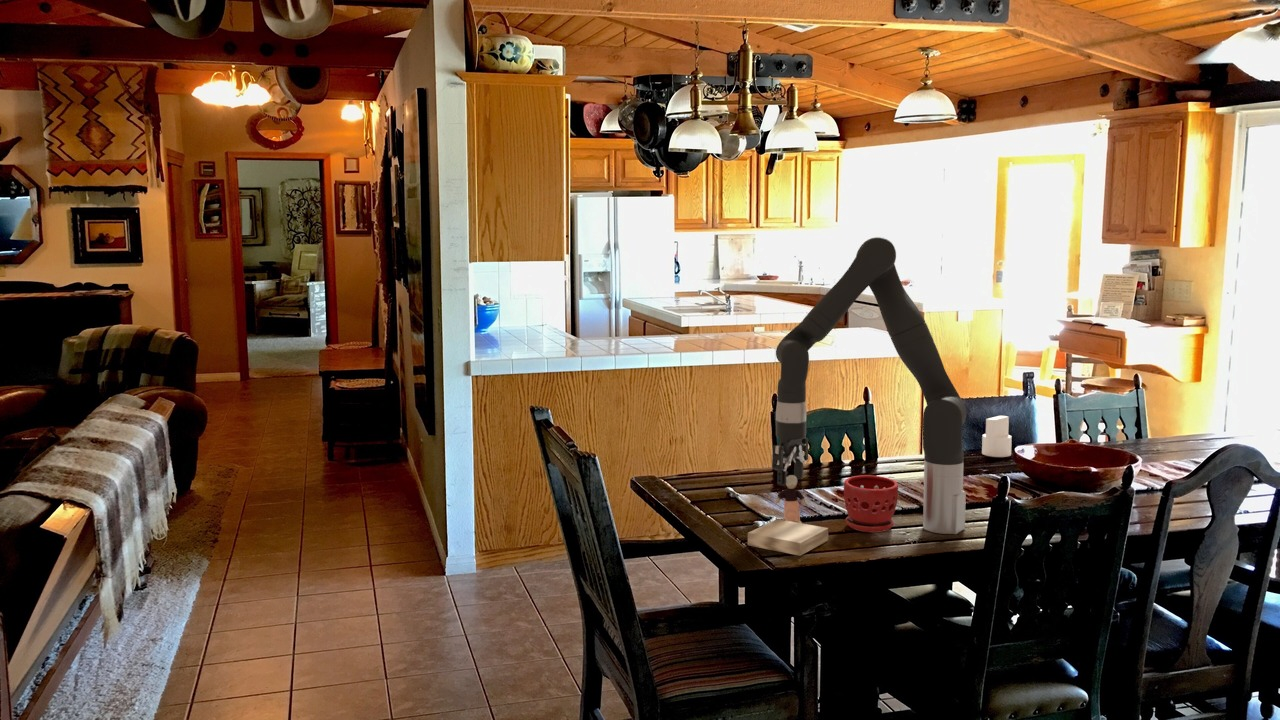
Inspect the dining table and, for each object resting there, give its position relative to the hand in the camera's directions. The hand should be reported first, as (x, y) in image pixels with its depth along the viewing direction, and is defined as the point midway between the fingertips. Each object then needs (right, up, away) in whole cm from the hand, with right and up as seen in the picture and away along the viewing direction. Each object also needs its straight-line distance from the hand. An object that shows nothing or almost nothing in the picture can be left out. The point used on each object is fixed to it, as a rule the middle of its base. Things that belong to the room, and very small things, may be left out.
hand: (790, 481), depth 258 cm
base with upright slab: (+78, 0, +75) cm, 109 cm away
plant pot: (+19, -11, -3) cm, 23 cm away
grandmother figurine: (0, -11, +1) cm, 11 cm away
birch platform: (-3, -13, -14) cm, 19 cm away
